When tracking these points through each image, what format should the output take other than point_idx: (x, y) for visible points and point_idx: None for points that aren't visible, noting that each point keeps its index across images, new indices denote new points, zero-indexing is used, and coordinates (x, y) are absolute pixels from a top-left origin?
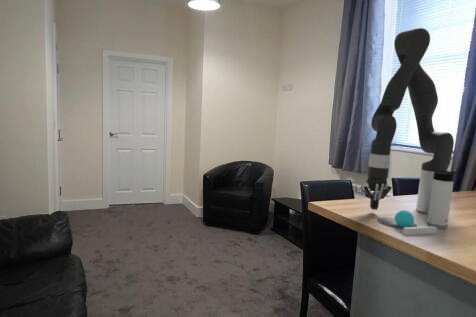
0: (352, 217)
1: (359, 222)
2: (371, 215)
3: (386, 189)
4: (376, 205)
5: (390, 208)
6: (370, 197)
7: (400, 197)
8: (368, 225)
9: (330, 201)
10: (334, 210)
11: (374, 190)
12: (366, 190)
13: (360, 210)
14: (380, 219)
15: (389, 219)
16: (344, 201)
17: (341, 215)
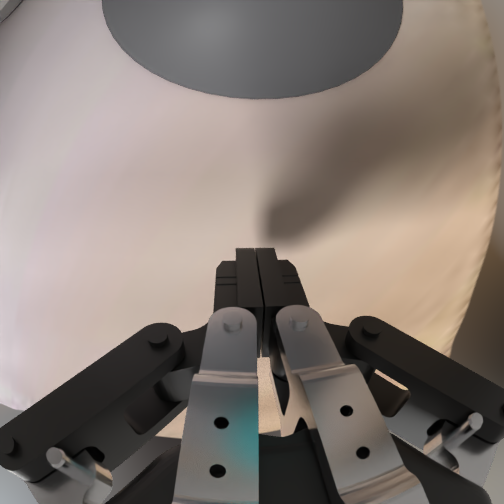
0: (479, 170)
1: (496, 84)
2: (330, 182)
3: (72, 449)
4: (253, 268)
5: (58, 325)
6: (387, 328)
7: (9, 400)
8: (481, 29)
9: None
10: (453, 300)
11: (376, 433)
12: (487, 387)
13: (312, 307)
14: (352, 53)
15: (260, 33)
16: (265, 422)
17: (493, 217)
